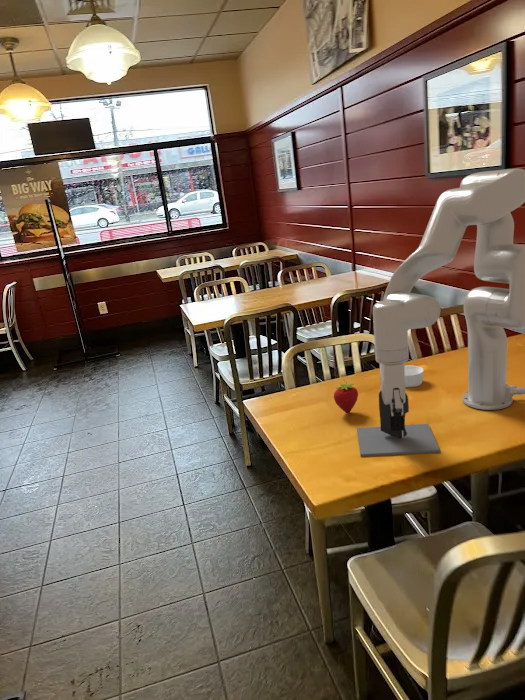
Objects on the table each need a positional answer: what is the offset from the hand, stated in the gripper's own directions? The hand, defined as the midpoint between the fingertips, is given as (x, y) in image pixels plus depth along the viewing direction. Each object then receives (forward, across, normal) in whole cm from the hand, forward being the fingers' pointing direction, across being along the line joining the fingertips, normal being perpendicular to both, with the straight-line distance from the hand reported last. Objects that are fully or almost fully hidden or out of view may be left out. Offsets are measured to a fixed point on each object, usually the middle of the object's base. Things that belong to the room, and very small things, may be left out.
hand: (395, 423), depth 126 cm
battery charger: (+3, 0, 0) cm, 3 cm away
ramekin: (+5, -38, +9) cm, 39 cm away
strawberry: (+5, -18, -11) cm, 22 cm away
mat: (+5, 0, 0) cm, 5 cm away
